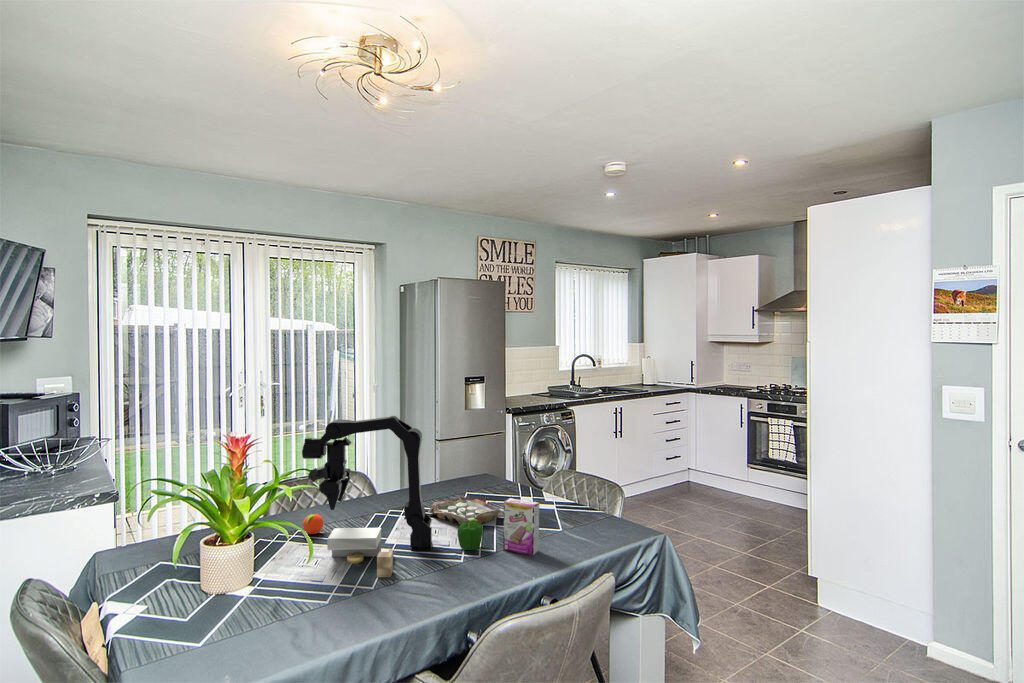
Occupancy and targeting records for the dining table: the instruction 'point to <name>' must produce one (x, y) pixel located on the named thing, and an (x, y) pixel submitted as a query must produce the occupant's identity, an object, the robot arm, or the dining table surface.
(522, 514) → the candy bar box
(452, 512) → the egg carton
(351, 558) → the token
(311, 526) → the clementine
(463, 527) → the bell pepper
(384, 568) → the wooden mallet
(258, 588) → the dining table surface
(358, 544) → the white rectangular box
